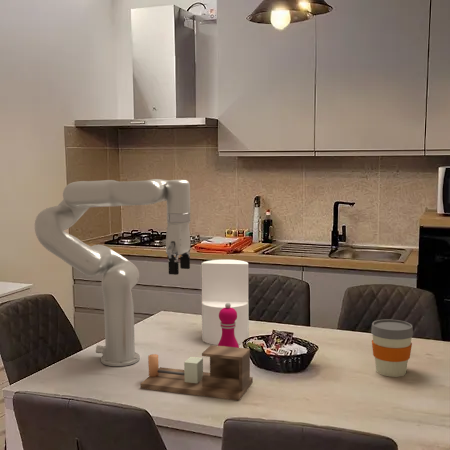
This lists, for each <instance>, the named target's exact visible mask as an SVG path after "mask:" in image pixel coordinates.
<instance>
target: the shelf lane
mask: <svg viewBox="0 0 450 450" xmlns="http://www.w3.org/2000/svg"><path fill="white" fill-rule="evenodd" d="M250 351H251V350H250V348H247V347H239V348H236V347H226V346H218V345H213V344H209V346H208V347H207V348H206V349H205V350H204V351H203V352H202V353H201V356H202V357H206V358H207V357H208V358H209V372H208V371H203V376H202V379H201V380H200V381H199V382H198V383H189V382H185V375H176V374H167V373H159V375H158V376H156V377H150V376H149V375H148V376H147V377H146V378H145V379H144V380H143V381H142V382H140V389H142V390H149V391H150V390H152V391H159V392H167V393H175V394H181V395H182V394H184V395H191V396H198V397H200V396H201V397H206V398H207V397H208V398H216V399H224V400H232V401H233V400H234V401H241V399H242V398H243V396H244V395H245V393H247V391H248V390H249V388H250V386H251V385H252V384H253V382H254V381H253V377H251V370H250V369H251V368H250V367H251V365H250V364H251V363H250V362H251V359H250V358H251V352H250ZM159 370H165V371H174V372H183V373H184V369H181V368H179V369H178V368H172V367H171V368H170V367H169V368H168V367H161V366H160V367H159Z"/></svg>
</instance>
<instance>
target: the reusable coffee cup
mask: <svg viewBox="0 0 450 450" xmlns="http://www.w3.org/2000/svg"><path fill="white" fill-rule="evenodd" d="M370 333H371V336H372V340H371V346H372V355H373V357H374V361H375V370H376V373H378V374H379V375H381V376H384V377H390V378H391V377H393V378H394V377H396V378H397V377H403V376H405V375H406V374H407V368H408V362H409V360H410V358H411V352H412V346H413V343H412V337H413V336H414V329H413V324H412V323H409V322H407V321H404V320H401V319H400V320H399V319H387V318H386V319H385V318H384V319H378V320H374V321H372V323H371V331H370Z"/></svg>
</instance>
